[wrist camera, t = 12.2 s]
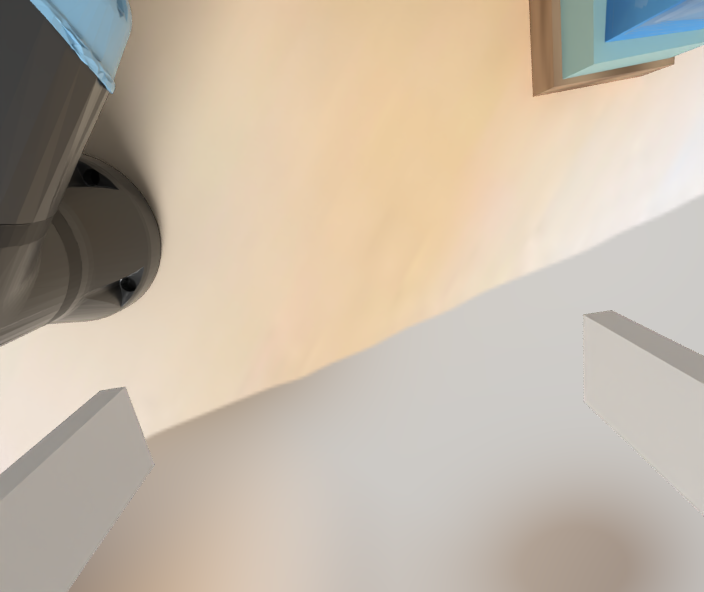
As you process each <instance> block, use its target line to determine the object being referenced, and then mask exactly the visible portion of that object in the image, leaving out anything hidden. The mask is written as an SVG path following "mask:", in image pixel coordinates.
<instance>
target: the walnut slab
mask: <svg viewBox="0 0 704 592" xmlns="http://www.w3.org/2000/svg"><path fill="white" fill-rule="evenodd" d="M529 10H530V35H531V59H532V84H533V97H534V96H540V95H545V94H550V93H555V92H561V91H566V90H571V89H576V88H582V87H587V86H592V85H597V84H603V83H608V82H613V81H619V80H624V79H629V78H634V77H640V76H643V75H646V74H648V73H651V72H654V71H657V70H660V69H662V68H665V67H668V66H671V65H673V64H674V58H675V56H674V57H671V58H667V59H662V60H657V61H652V62H647V63H642V64H637V65H632V66H627V67H622V68H617V69H612V70H607V71H602V72H597V73H592V74H587V75H582V76H577V77H572V78H567V79H563V77H562V42H561V6H560V0H529Z"/></svg>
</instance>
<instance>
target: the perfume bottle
mask: <svg viewBox="0 0 704 592" xmlns="http://www.w3.org/2000/svg"><path fill="white" fill-rule="evenodd" d="M703 28H704V0H607V6H606V26H605V42H613V41H620V40H627V39H634V38H642V37H649V36H656V35H663V34H670V33H678V32H685V31H692V30H699V29H703Z"/></svg>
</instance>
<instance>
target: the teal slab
mask: <svg viewBox="0 0 704 592" xmlns="http://www.w3.org/2000/svg"><path fill="white" fill-rule="evenodd" d="M560 6H561V42H562V77H563V79H567V78H572V77H577V76H582V75H587V74H592V73H597V72H602V71H607V70H612V69H617V68H622V67H627V66H632V65H637V64H642V63H647V62H652V61H657V60H662V59H667V58H671V57H674V56H676V55H679V54H681V53H684V52H687V51H689V50H692V49H694V48H697V47H700V46H702V45H704V28H703V29H699V30H692V31H685V32H678V33H670V34H663V35H656V36H649V37H642V38H634V39H627V40H620V41H613V42H605V26H606V6H607V0H560Z"/></svg>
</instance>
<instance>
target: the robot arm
mask: <svg viewBox="0 0 704 592" xmlns="http://www.w3.org/2000/svg"><path fill="white" fill-rule="evenodd" d="M131 28H132V13H131V9H130V5H129V1H128V0H0V347H1V346H3V345H5V344H7V343H9V342H11V341H13V340H15V339H17V338H20V337H22V336H24V335H26V334H28V333H30V332H32V331H34V330H36V329H38V328H40V327H42V326H44V325H46V324H56V323H71V322H86V321H93V320H98V319H101V318H105V317H108V316H111V315H113V314H115V313H117V312H119V311H121V310H122V309H124V308H126V307H128V306H130V305H131V304H133V303H134V302H136V301H137V300H138V299H139V298H140V297H141V296H142V295H143V294H144V293H145V292H146V291H147V290H148V288H149V287H150V286H151V284H152V282H153V280H154V278H155V276H156V273H157V271H158V267H159V262H160V255H161V243H160V235H159V230H158V226H157V223H156V220H155V217H154V215H153V213H152V211H151V209H150V207H149V205H148V203H147V202H146V200H145V198H144V197H143V196H142V194H141V193H140V192H139V190H138V189H137V188H136V187H135V186H134V185H133V184H132V183H131V182H130V181H129V180H128V179H127V178H126V177H125V176H124V175H123V174H121V173H120V172H119V171H117V170H116V169H114V168H113V167H111V166H110V165H108V164H106V163H104V162H102V161H100V160H98V159H95V158H93V157H90V156H87V155H83V154H82V151H83V149H84V147H85V145H86V143H87V140H88V138H89V136H90V134H91V132H92V129H93V127H94V125H95V123H96V121H97V118H98V116H99V114H100V112H101V110H102V107H103V105H104V103H105V101H106V99H107V96H108V94H109V93H111V94H113V92H114V90H115V83H114V78H115V75H116V72H117V69H118V66H119V63H120V60H121V57H122V54H123V52H124V49H125V46H126V44H127V41H128V38H129V36H130V32H131ZM583 345H584V346H583V349H584V350H583V355H584V356H583V363H584V364H583V365H584V366H583V367H584V368H583V370H584V371H583V372H584V373H583V374H584V403H585V404H586V405H588V407H590V408H591V409H592V410H593V411H594V412H595V413H596V414H597V415H598V416H599V417H600V418H601V419H602V420H603V421H604V422H605V423H606V424H607V425H609V426H610V427H611V428H612V429H613V430H614V431H615V432H616V433H617V434H618V435H619V436H620V437H621V438H622V439H623V440H624V441H625V442H626V443H627V444H628V445H629V446H630V447H632V448H633V449H634V450H635V451H636V452H637V453H638V454H639V455H640V456H641V457H642V458H643V459H644V460H645V461H646V462H647V463H648V464H650V466H651V467H653V468H654V469H655V470H656V471H657V472H658V473H659V474H660V475H661V476H662V477H663V478H664V479H665V480H666V481H667V482H668V483H669V484H671V486H672V487H674V488H675V489H676V490H677V491H678V492H679V493H680V494H681V495H682V496H683V497H684V498H685V499H686V500H687V501H689V503H690V504H691V505H693V507H695V508H696V509H697V510H698V511H699V512H700V513H701V514H702V515H703V516H704V356H703V355H700V354H699V353H696V352H694V351H692V350H690V349H688V348H686V347H684V346H682V345H680V344H678V343H676V342H674V341H672V340H670V339H668V338H666V337H664V336H662V335H660V334H658V333H656V332H654V331H652V330H650V329H648V328H646V327H644V326H642V325H640V324H638V323H636V322H634V321H632V320H630V319H628V318H626V317H624V316H622V315H620V314H618V313H616V312H614V311H612V310H610V311H604V312H597V313H591V314H584V315H583ZM154 465H155V464H154V462H153V459H152V456H151V454H150V451H149V448H148V446H147V443H146V440H145V438H144V435H143V432H142V430H141V427H140V424H139V422H138V419H137V416H136V414H135V411H134V408H133V405H132V403H131V400H130V397H129V395H128V392H127V389H126V387H121V388H114V389H108V390H102V391H99V392H98V393H97V394H96V395H95V396H93V397H92V398H91V399H90V400H89V401H87V402H86V403H85V404H84V405H83V406H81V407H80V408H79V409H78V410H77V411H75V412H74V413H73V414H72V415H71V416H69V417H68V418H67V419H66V420H65V421H64V422H62V423H61V424H60V425H59V426H58V427H56V428H55V429H54V430H53V431H52V432H50V433H49V434H48V435H47V436H46V437H44V438H43V439H42V440H41V441H40V442H38V443H37V444H36V445H35V446H34V447H33V448H31V449H30V450H29V451H28V452H27V453H25V454H24V455H23V456H22V457H21V458H19V459H18V460H17V461H16V462H15V463H13V464H12V465H11V466H10V467H9V468H7V469H6V470H5V471H4V472H3V473H2V474H0V592H68V590H69V589H70V587H71V586H72V584H73V583H74V582H75V580H76V579H77V577H78V576H79V574H80V573H81V571H82V570H83V569H84V567H85V566H86V564H87V563H88V561H89V560H90V558H91V557H92V555H93V554H94V553H95V551H96V550H97V548H98V547H99V545H100V544H101V542H102V541H103V539H104V538H105V536H106V535H107V534H108V532H109V530H110V529H111V528H112V526H113V525H114V523H115V522H116V521H117V519H118V518H119V516H120V515H121V513H122V512H123V510H124V509H125V508H126V506H127V505H128V503H129V502H130V500H131V499H132V497H133V496H134V495H135V493H136V492H137V490H138V488H139V487H140V486H141V484H142V482H143V481H144V480H145V479H146V477H147V475H148V474H149V473H150V471H151V470H152V468H153V467H154Z"/></svg>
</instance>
